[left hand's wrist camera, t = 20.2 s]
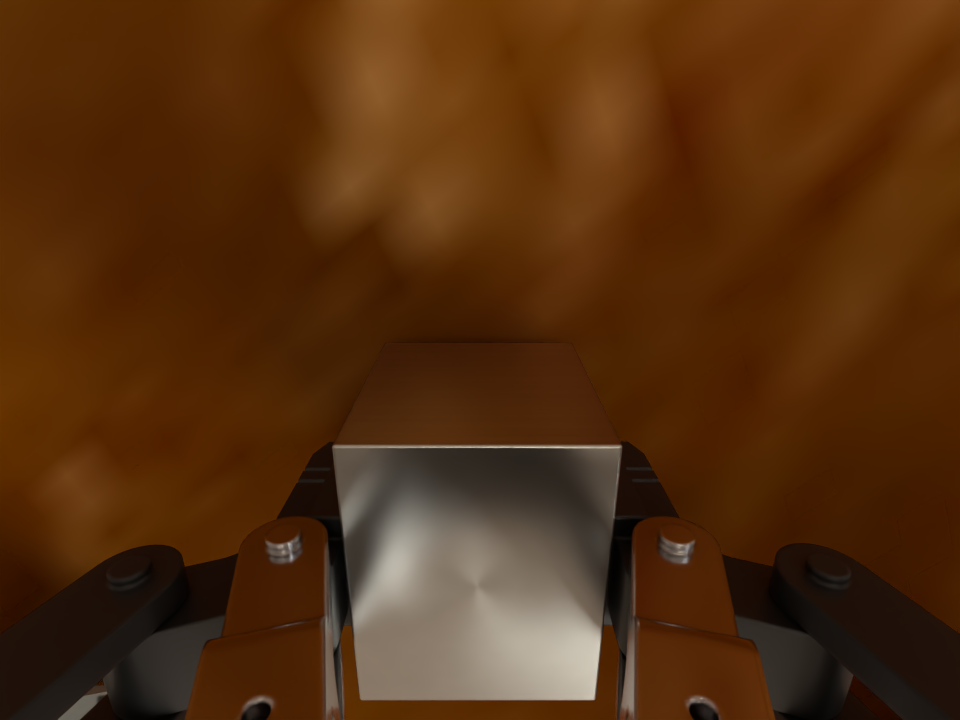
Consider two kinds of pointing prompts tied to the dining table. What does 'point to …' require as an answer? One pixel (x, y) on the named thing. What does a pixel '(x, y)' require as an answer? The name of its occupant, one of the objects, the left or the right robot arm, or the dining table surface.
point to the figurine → (85, 703)
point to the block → (477, 522)
